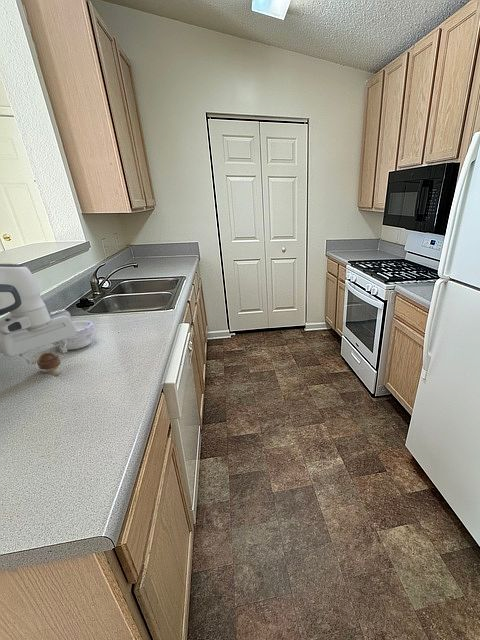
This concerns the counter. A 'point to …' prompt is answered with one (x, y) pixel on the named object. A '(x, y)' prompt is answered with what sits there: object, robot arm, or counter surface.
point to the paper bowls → (80, 335)
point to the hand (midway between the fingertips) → (48, 357)
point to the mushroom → (49, 363)
